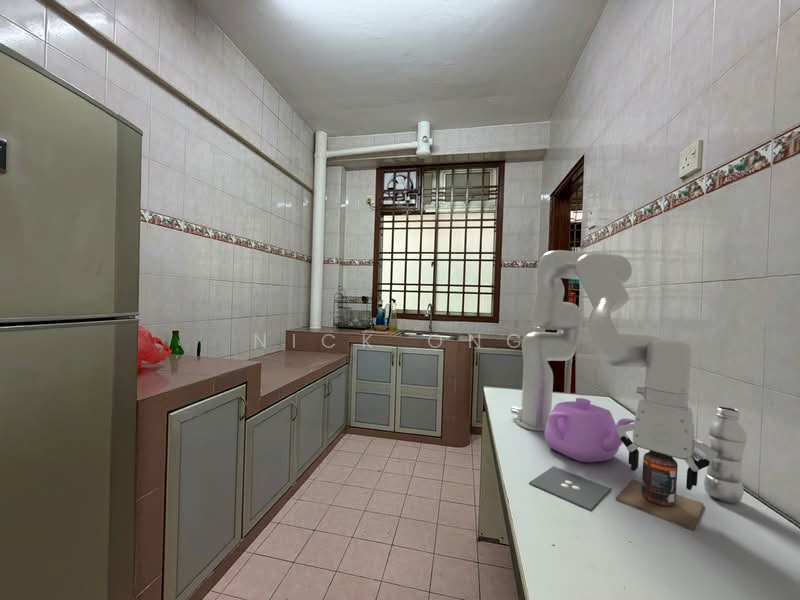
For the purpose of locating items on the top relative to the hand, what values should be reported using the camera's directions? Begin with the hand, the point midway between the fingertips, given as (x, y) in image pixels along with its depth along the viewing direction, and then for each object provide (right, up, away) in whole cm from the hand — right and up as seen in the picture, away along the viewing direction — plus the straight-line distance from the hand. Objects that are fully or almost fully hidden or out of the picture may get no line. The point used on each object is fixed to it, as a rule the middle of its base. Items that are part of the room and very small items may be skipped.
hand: (660, 477), depth 76 cm
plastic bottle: (+16, -6, +3) cm, 18 cm away
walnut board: (0, -5, 0) cm, 5 cm away
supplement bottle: (0, -5, 0) cm, 5 cm away
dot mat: (-17, -4, +5) cm, 18 cm away
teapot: (-5, -5, +23) cm, 25 cm away
